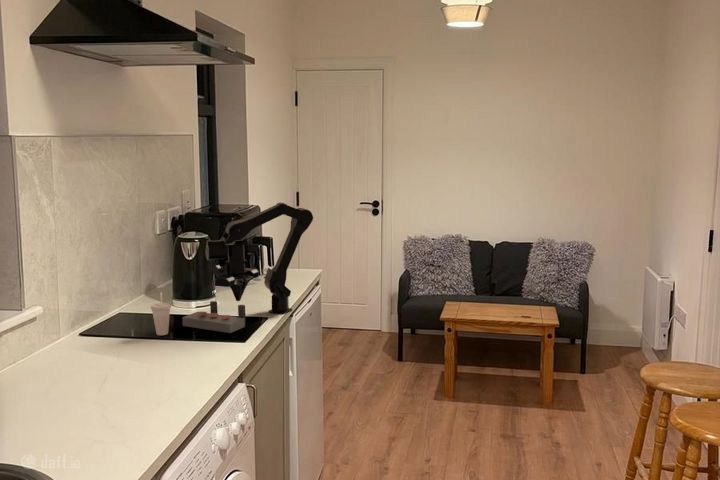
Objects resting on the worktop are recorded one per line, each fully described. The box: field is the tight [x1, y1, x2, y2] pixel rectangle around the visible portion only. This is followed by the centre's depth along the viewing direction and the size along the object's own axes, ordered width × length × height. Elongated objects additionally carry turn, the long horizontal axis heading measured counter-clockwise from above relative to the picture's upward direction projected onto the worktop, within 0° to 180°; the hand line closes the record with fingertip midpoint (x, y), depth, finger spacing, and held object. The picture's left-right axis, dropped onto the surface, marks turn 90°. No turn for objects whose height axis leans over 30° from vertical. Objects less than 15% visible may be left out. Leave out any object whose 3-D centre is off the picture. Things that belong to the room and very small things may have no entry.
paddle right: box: [220, 314, 231, 319], centre depth 239 cm, size 3×2×1 cm
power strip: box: [182, 311, 246, 334], centre depth 241 cm, size 8×20×3 cm, turn 63°
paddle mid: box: [208, 312, 219, 317], centre depth 241 cm, size 3×2×1 cm
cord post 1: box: [209, 300, 219, 315], centre depth 251 cm, size 2×2×6 cm
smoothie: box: [150, 291, 172, 336], centre depth 233 cm, size 6×6×14 cm
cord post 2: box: [237, 304, 247, 324], centre depth 246 cm, size 2×2×6 cm
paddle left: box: [196, 310, 208, 316], centre depth 243 cm, size 3×2×1 cm
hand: (238, 300), depth 253 cm, fingers closed
